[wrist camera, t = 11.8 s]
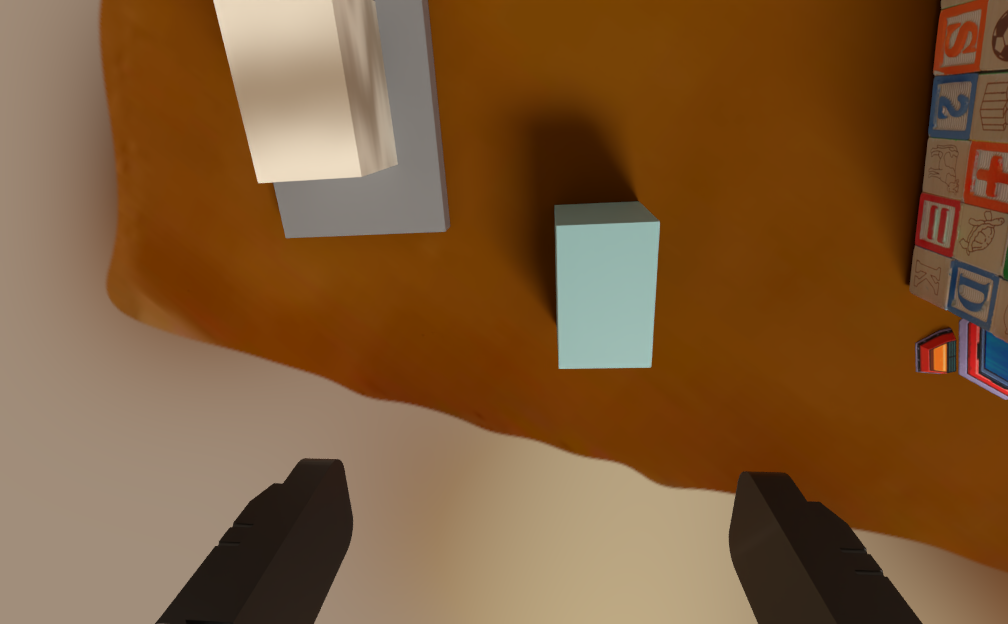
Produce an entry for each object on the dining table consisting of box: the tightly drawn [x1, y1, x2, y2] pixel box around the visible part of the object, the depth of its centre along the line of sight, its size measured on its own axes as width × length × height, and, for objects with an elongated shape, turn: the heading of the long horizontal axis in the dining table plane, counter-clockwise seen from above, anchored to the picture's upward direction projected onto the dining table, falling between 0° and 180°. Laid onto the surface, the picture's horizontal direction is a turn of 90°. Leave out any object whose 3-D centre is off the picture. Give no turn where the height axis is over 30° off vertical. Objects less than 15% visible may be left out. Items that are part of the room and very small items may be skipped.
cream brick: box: [213, 0, 398, 183], centre depth 24 cm, size 8×5×6 cm, turn 4°
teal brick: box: [554, 201, 660, 369], centre depth 28 cm, size 8×5×6 cm, turn 3°
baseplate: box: [273, 0, 450, 238], centre depth 27 cm, size 16×10×2 cm, turn 3°
